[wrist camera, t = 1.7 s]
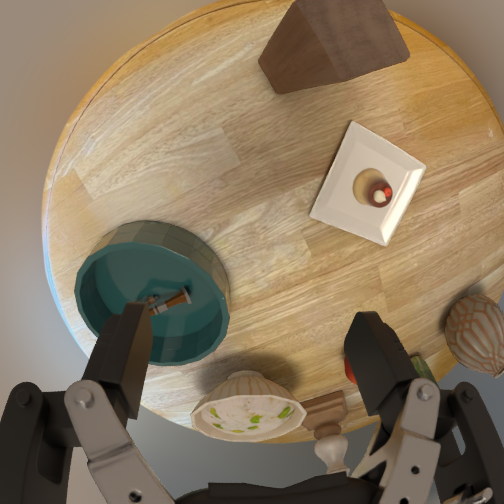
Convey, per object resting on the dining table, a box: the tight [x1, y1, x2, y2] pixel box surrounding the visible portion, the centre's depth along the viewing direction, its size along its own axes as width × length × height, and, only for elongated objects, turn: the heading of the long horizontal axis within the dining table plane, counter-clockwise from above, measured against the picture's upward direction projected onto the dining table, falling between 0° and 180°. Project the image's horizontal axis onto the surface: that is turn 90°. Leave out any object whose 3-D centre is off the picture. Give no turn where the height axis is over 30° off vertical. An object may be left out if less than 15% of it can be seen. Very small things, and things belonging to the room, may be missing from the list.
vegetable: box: [410, 356, 440, 389], centre depth 41 cm, size 6×6×20 cm
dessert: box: [309, 121, 427, 246], centre depth 29 cm, size 12×12×5 cm
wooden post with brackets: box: [135, 286, 191, 316], centre depth 35 cm, size 2×8×4 cm, turn 102°
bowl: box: [190, 370, 307, 442], centre depth 43 cm, size 19×19×10 cm
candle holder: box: [300, 391, 350, 477], centre depth 45 cm, size 11×11×24 cm
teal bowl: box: [74, 221, 230, 366], centre depth 34 cm, size 20×20×6 cm
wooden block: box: [258, 0, 410, 94], centre depth 16 cm, size 9×4×18 cm, turn 119°
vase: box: [445, 294, 504, 378], centre depth 36 cm, size 13×13×18 cm
